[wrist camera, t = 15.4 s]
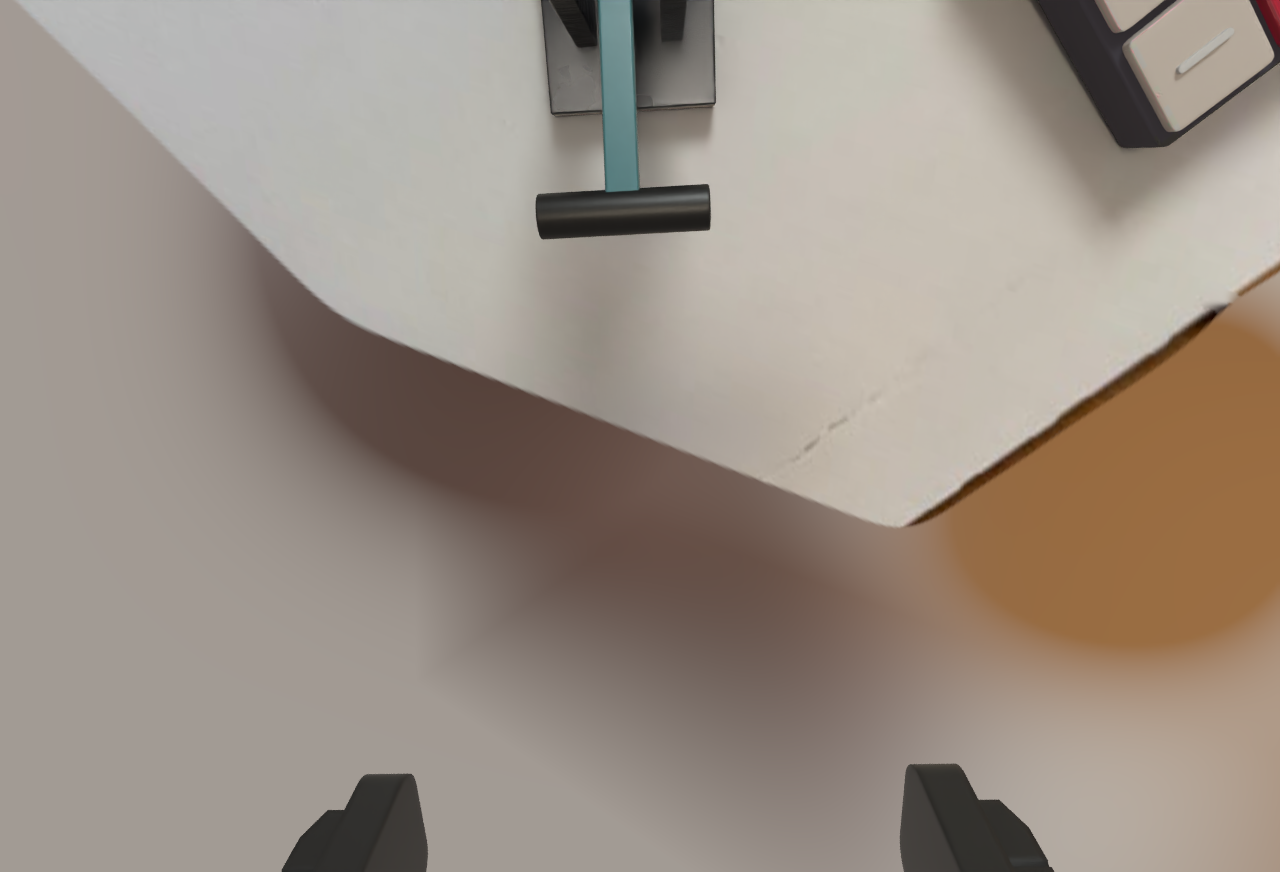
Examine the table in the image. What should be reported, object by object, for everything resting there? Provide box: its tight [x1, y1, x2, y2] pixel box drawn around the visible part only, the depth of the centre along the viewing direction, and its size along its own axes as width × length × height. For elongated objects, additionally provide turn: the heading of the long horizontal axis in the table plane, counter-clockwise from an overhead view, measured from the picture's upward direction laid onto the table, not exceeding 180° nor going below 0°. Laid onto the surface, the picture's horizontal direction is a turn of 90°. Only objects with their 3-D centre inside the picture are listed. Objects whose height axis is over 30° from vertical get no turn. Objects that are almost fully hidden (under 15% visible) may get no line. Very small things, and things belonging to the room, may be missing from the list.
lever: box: [536, 0, 711, 239], centre depth 24 cm, size 12×6×2 cm, turn 2°
